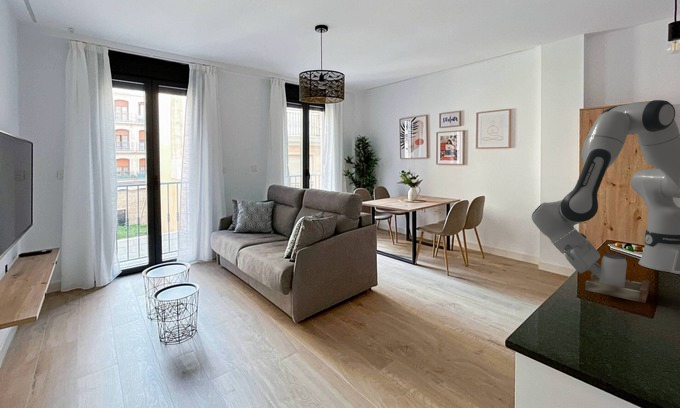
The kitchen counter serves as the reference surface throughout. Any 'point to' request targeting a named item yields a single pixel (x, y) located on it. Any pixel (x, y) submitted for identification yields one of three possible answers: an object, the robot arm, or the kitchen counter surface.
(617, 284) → the can
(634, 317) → the kitchen counter surface
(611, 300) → the kitchen counter surface
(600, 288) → the wooden rack
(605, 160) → the robot arm
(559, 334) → the kitchen counter surface
